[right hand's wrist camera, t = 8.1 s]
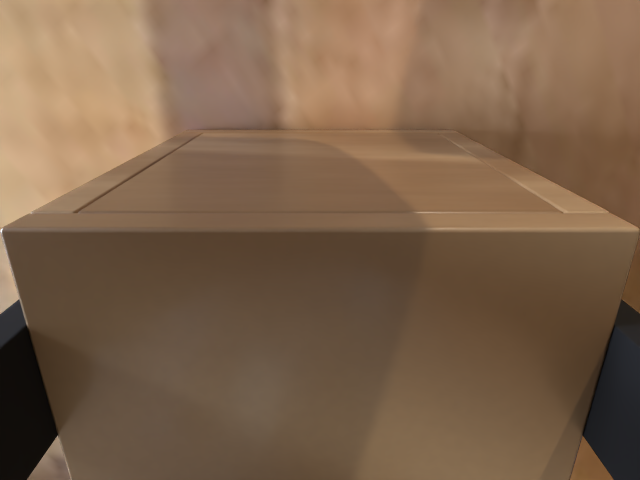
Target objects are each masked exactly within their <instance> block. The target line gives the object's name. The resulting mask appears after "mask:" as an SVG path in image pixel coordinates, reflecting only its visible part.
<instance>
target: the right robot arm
mask: <svg viewBox="0 0 640 480" xmlns="http://www.w3.org/2000/svg"><path fill="white" fill-rule="evenodd" d="M57 436H58V433H57V430H56V426H55V423H54V419H53V416H52V412H51V409H50V405H49V402H48V398H47V395H46V391H45V388H44V384H43V381H42V377H41V374H40V370H39V367H38V363H37V360H36V356H35V353H34V349H33V345H32V342H31V338H30V335H29V331H28V328H27V324H26V321H25V317H24V314H23V310H22V307H21V303H20V300H18V301H16V302H15V303H14V304H13V305H11V306H10V307H9V308H8V309H6V310H5V311H4V312H3V313H1V314H0V480H27V478H28V477H29V476H30V474H31V473H32V471H33V470H34V468H35V467H36V466H37V464H38V463H39V461H40V460H41V458H42V457H43V456H44V454H45V453H46V451H47V450H48V448H49V447H50V446H51V444H52V443H53V441H54V440H55V438H56V437H57ZM583 436H584V438H585V439H586V441H587V442H588V443H589V445H590V446H591V448H592V449H593V451H594V452H595V453H596V455H597V456H598V458H599V459H600V461H601V462H602V463H603V465H604V466H605V468H606V469H607V471H608V472H609V473H610V475H611V476H612V478H613V479H614V480H640V314H639V313H638V312H637V311H635V310H634V309H633V308H632V307H630V306H629V305H628V304H627V303H625V302H624V301H623V300H622V299H621V302H620V305H619V309H618V312H617V316H616V319H615V323H614V326H613V330H612V334H611V337H610V341H609V344H608V348H607V351H606V355H605V358H604V362H603V365H602V369H601V372H600V376H599V379H598V383H597V386H596V390H595V393H594V397H593V400H592V404H591V407H590V411H589V414H588V418H587V421H586V425H585V428H584V432H583Z"/></svg>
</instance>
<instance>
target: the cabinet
mask: <svg viewBox="0 0 640 480" xmlns="http://www.w3.org/2000/svg"><path fill="white" fill-rule="evenodd" d="M0 233H1V237H2V240H3V244H4V247H5V251H6V254H7V258H8V261H9V265H10V268H11V272H12V275H13V279H14V282H15V286H16V289H17V293H18V296H19V300H20V303H21V307H22V310H23V314H24V317H25V321H26V324H27V328H28V331H29V335H30V338H31V342H32V345H33V349H34V353H35V356H36V360H37V363H38V367H39V370H40V374H41V377H42V381H43V384H44V388H45V391H46V395H47V398H48V402H49V405H50V409H51V412H52V416H53V419H54V423H55V426H56V430H57V433H58V437H59V440H60V444H61V447H62V451H63V454H64V458H65V461H66V465H67V468H68V472H69V475H70V479H71V480H570V477H571V474H572V470H573V467H574V463H575V460H576V456H577V453H578V449H579V446H580V442H581V439H582V435H583V432H584V428H585V425H586V421H587V418H588V414H589V411H590V407H591V404H592V400H593V397H594V393H595V390H596V386H597V383H598V379H599V376H600V372H601V369H602V365H603V362H604V358H605V355H606V351H607V348H608V344H609V341H610V337H611V334H612V330H613V326H614V323H615V319H616V316H617V312H618V309H619V305H620V302H621V298H622V295H623V291H624V288H625V284H626V281H627V277H628V274H629V270H630V267H631V263H632V260H633V256H634V253H635V249H636V246H637V242H638V239H639V235H640V229H639V228H638V227H636V226H634V225H633V224H631V223H629V222H627V221H625V220H623V219H621V218H619V217H617V216H616V215H614V214H611V213H610V212H609V211H607V210H605V209H603V208H601V207H599V206H597V205H596V204H594V203H592V202H590V201H588V200H586V199H584V198H582V197H580V196H578V195H576V194H575V193H573V192H571V191H569V190H567V189H565V188H563V187H561V186H559V185H557V184H556V183H554V182H552V181H550V180H548V179H546V178H544V177H542V176H540V175H538V174H537V173H535V172H533V171H531V170H529V169H527V168H525V167H523V166H521V165H519V164H517V163H516V162H514V161H512V160H510V159H508V158H506V157H504V156H502V155H500V154H498V153H497V152H495V151H493V150H491V149H489V148H487V147H485V146H483V145H481V144H479V143H477V142H476V141H474V140H472V139H470V138H468V137H466V136H464V135H462V134H460V133H458V132H456V131H455V130H186V131H184V132H182V133H180V134H178V135H176V136H174V137H173V138H171V139H169V140H167V141H165V142H163V143H161V144H159V145H157V146H155V147H154V148H152V149H150V150H148V151H146V152H144V153H142V154H140V155H138V156H136V157H135V158H133V159H131V160H129V161H127V162H125V163H123V164H121V165H119V166H117V167H116V168H114V169H112V170H110V171H108V172H106V173H104V174H102V175H100V176H99V177H97V178H95V179H93V180H91V181H89V182H87V183H85V184H83V185H81V186H80V187H78V188H76V189H74V190H72V191H70V192H68V193H66V194H64V195H62V196H61V197H59V198H57V199H55V200H53V201H51V202H49V203H47V204H45V205H43V206H42V207H40V208H38V209H36V210H34V211H32V212H31V213H29V214H27V215H25V216H23V217H21V218H19V219H18V220H16V221H14V222H12V223H10V224H8V225H6V226H4V227H2V228H1V231H0Z"/></svg>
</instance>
